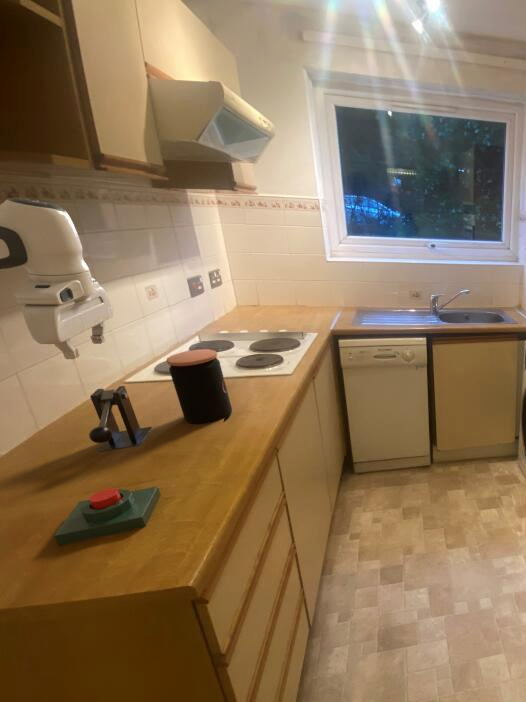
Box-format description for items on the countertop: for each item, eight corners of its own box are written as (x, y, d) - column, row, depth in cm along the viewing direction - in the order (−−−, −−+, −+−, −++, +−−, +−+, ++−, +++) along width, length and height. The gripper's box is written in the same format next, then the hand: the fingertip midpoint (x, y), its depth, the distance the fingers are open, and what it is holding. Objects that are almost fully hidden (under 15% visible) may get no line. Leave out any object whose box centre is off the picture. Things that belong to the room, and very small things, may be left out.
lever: (113, 444, 95) (105, 434, 92) (92, 447, 93) (83, 437, 91) (124, 397, 103) (117, 387, 101) (105, 399, 102) (98, 389, 99)
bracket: (141, 449, 102) (121, 396, 97) (98, 456, 99) (75, 402, 94) (153, 430, 111) (136, 380, 105) (114, 436, 108) (94, 385, 102)
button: (88, 512, 76) (84, 504, 75) (97, 499, 79) (94, 491, 79) (117, 506, 78) (113, 498, 77) (124, 493, 81) (121, 485, 80)
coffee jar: (240, 416, 118) (224, 354, 111) (197, 432, 110) (176, 365, 103) (222, 406, 124) (205, 346, 117) (179, 420, 116) (158, 357, 109)
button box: (58, 546, 73) (49, 527, 72) (83, 510, 82) (75, 493, 80) (145, 526, 78) (138, 508, 76) (161, 495, 86) (154, 478, 85)
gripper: (77, 275, 96) (97, 334, 101) (6, 297, 78) (35, 368, 84) (111, 276, 97) (129, 334, 103) (50, 298, 80) (75, 367, 85)
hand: (86, 350), depth 93 cm, fingers open, 8 cm apart
